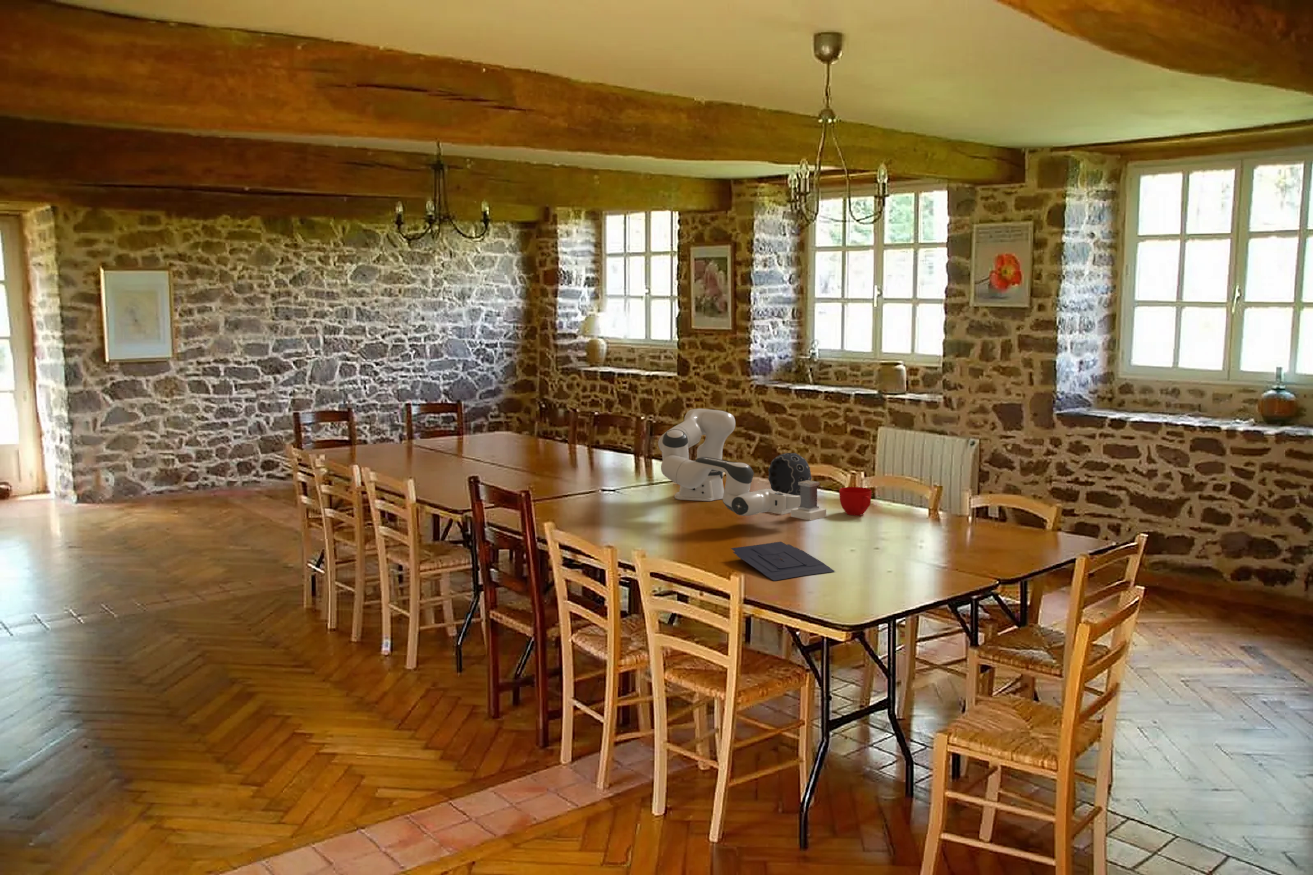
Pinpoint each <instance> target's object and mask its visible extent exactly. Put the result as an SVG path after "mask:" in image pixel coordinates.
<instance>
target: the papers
mask: <svg viewBox="0 0 1313 875" xmlns="http://www.w3.org/2000/svg"><path fill="white" fill-rule="evenodd" d="M730 549H731V550H732V553H733V554H735V555H736V557H738V558H739V559H740V560H743V561H744V562H746V563H747V564H749V565H750V566H751V567H753V568H755V569H756V570H757V571H758V572H760V573H761V574H763V575H764V576H766V578H768V579H771V580H772V581H774V582H776V581H780V580H786V579H791V578H798V577H803V576H809V575H810V576H811V575H819V574H825V573H833V572H835V570H834V569H833V568H831V567H829V566H828V565H827V564H825V563H824V562H822V561H821V560H819V559H817V558H816V557H815V556H812V555H811V554H809V553H808V552H806V551H804V550H802V549H800V548H798V547H796V546H793V545H791V544H786V543H785V542H782V541H777V542H776V541H775V542H767V543H763V544H761V543H760V544H756V545H755V544H754V545H747V546H746V545H745V546H739V547H730Z"/></svg>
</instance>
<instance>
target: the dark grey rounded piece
mask: <svg viewBox="0 0 1313 875" xmlns="http://www.w3.org/2000/svg"><path fill="white" fill-rule="evenodd" d="M811 472H812V471H811V467H810V465H809V463H808V461H807V460H806V458H804V457H803V456H801V455H800V454H797V453H796V452H786V453H781V454H779V455H777V456H776V457H775V458H773V459H772V460H771V462H770V466H769V467H768V477H767V478H768V482H769V484H770V489H772V490H773V491H776V492H778V491H779V492H782V493H786V494H791V495H800V485H798V482H801V481H806V480H810V481H812V473H811Z"/></svg>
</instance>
